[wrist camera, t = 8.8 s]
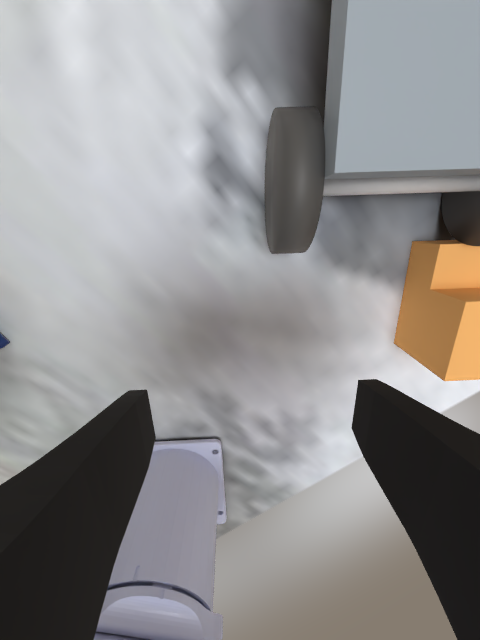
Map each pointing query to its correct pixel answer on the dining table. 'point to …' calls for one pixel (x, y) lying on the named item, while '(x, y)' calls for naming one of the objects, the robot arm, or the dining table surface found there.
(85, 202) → the dining table surface
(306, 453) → the dining table surface
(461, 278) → the block
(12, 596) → the robot arm
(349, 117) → the trolley
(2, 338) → the juice carton
